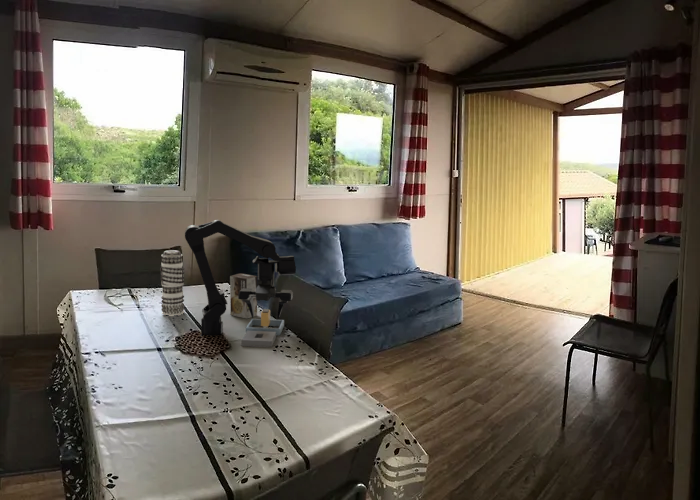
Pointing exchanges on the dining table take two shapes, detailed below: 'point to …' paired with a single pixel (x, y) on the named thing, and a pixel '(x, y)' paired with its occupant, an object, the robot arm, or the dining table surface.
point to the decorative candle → (172, 283)
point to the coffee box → (236, 285)
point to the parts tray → (272, 323)
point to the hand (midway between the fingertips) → (265, 317)
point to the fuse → (265, 318)
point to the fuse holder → (258, 339)
